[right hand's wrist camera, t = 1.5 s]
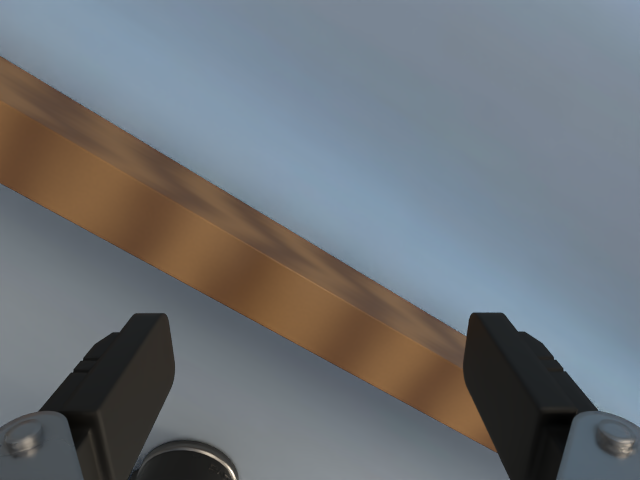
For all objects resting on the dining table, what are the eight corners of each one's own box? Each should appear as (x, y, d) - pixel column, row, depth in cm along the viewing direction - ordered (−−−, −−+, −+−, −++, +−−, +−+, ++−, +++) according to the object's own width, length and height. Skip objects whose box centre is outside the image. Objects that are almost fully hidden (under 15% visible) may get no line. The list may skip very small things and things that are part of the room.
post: (-172, 29, 28) (-308, 16, 22) (-157, -39, 26) (-298, -73, 20) (651, 497, 43) (705, 566, 37) (687, 469, 41) (749, 536, 35)
